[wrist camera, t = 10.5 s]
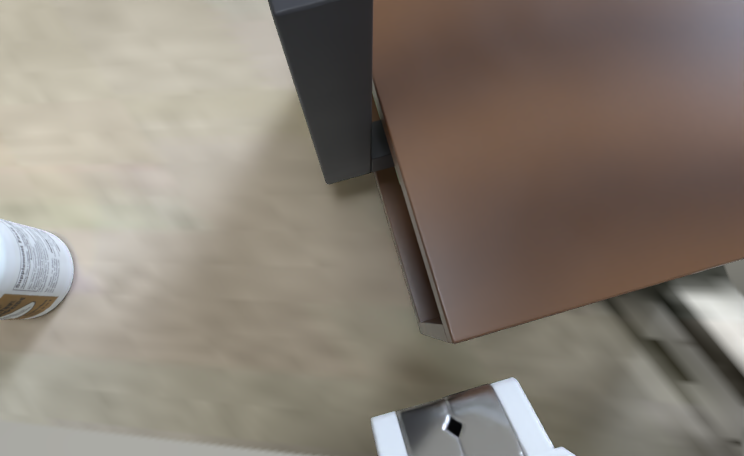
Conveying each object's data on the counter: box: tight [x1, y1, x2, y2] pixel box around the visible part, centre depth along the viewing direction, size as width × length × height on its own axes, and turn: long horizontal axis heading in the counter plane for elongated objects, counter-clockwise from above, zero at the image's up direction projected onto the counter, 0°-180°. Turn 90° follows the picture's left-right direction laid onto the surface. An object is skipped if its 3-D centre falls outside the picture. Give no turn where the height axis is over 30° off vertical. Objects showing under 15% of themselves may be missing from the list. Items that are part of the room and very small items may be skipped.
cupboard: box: [372, 0, 744, 344], centre depth 22 cm, size 16×14×10 cm
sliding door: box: [268, 0, 400, 184], centre depth 18 cm, size 7×4×16 cm, turn 16°
